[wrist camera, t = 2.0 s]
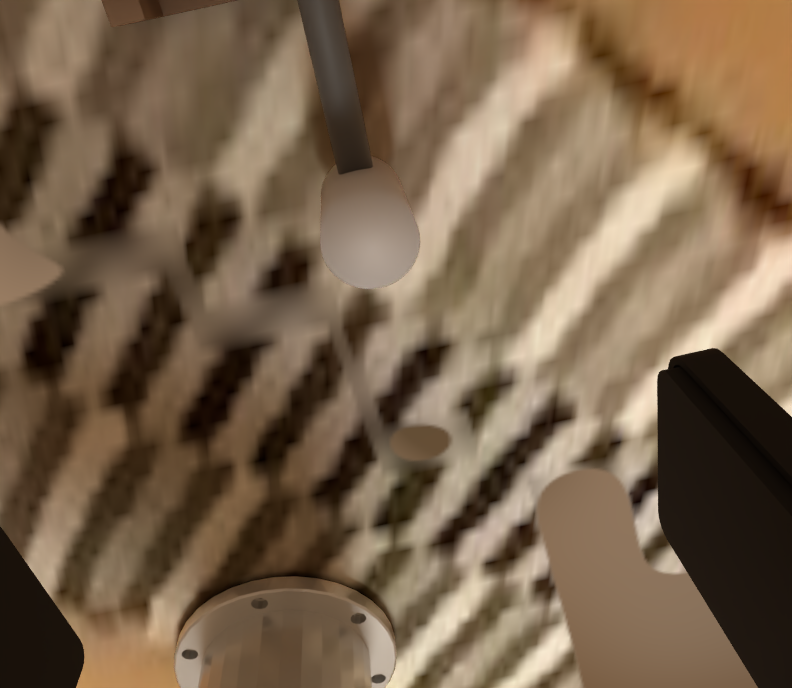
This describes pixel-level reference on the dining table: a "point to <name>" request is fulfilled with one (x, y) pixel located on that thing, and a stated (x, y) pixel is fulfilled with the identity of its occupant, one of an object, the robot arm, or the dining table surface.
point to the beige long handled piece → (355, 170)
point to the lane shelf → (150, 9)
